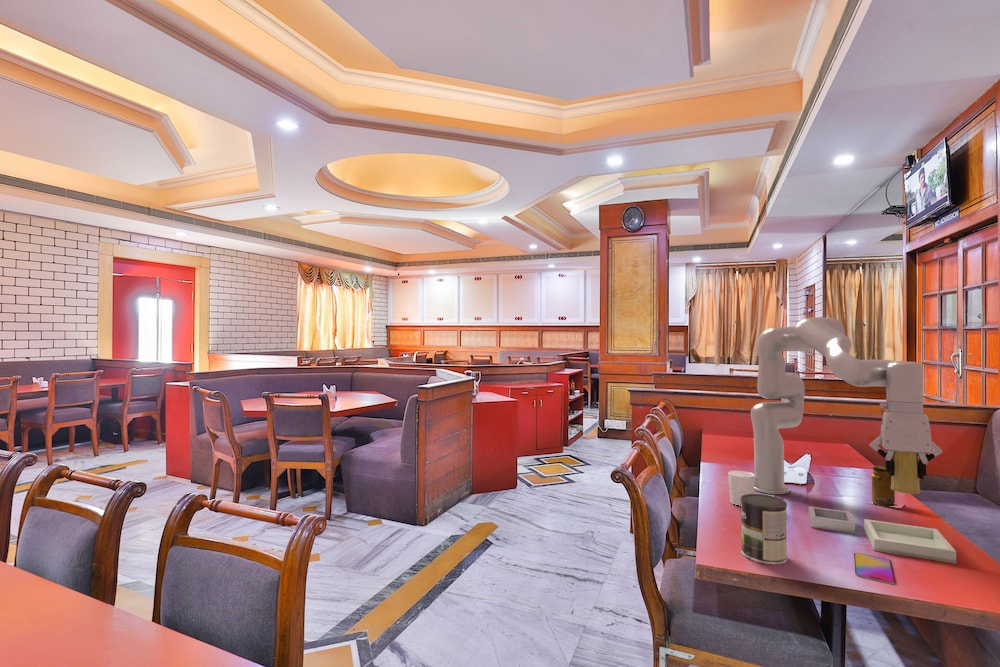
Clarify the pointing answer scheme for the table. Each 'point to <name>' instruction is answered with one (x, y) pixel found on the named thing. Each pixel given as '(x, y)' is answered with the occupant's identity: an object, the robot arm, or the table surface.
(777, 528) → the coffee can
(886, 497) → the condiment
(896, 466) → the vase
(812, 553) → the table surface
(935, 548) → the beige tray
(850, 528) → the white square dish
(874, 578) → the smartphone
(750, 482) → the white cup
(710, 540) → the table surface
